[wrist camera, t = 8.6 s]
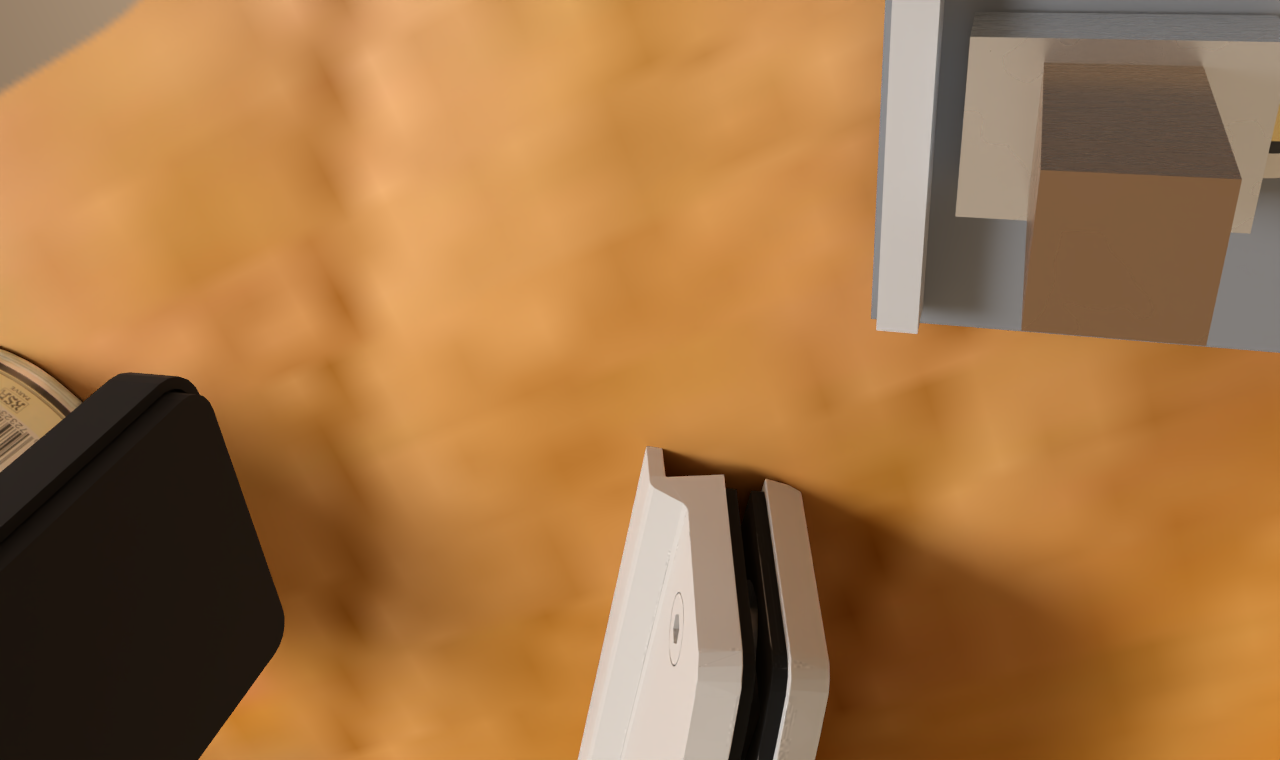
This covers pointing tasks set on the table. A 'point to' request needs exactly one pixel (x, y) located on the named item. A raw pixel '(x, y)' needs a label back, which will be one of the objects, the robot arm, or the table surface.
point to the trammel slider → (1120, 159)
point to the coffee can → (28, 405)
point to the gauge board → (995, 248)
